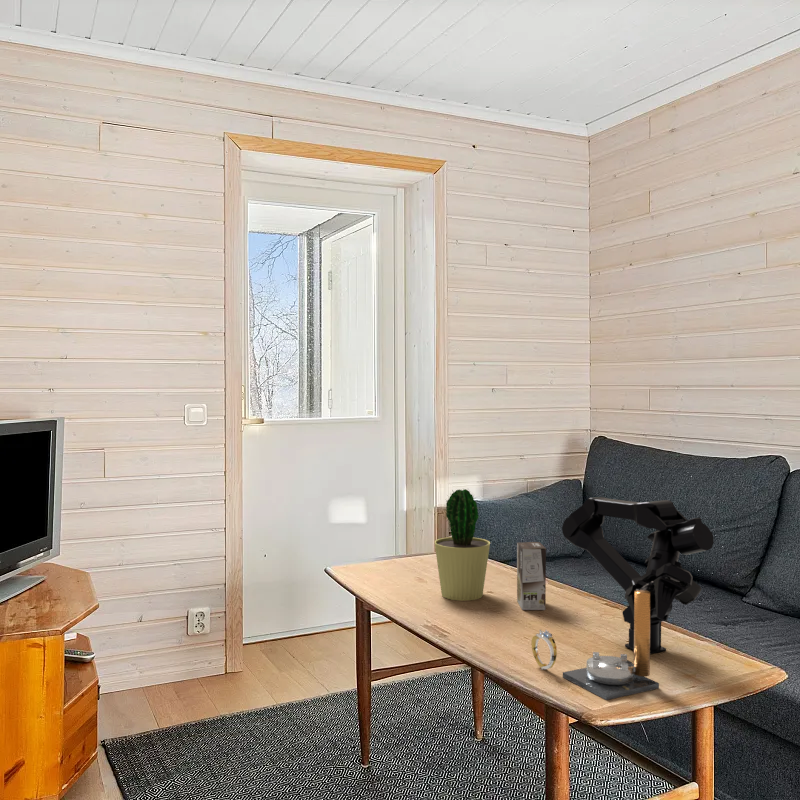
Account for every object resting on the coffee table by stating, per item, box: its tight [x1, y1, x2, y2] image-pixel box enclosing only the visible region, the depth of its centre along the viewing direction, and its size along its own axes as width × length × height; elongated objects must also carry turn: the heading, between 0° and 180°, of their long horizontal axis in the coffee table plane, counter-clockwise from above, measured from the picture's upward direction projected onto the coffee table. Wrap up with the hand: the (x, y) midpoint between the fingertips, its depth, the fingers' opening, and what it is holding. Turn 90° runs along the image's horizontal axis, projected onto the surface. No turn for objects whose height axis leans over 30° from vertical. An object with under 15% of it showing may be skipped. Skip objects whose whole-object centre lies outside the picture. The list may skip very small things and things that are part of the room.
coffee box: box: [516, 541, 547, 611], centre depth 215 cm, size 9×6×16 cm
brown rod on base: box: [586, 590, 651, 685], centre depth 160 cm, size 12×9×17 cm
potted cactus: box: [434, 488, 491, 602], centre depth 225 cm, size 15×15×30 cm
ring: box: [530, 629, 558, 671], centre depth 168 cm, size 7×3×8 cm, turn 22°
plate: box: [562, 667, 660, 701], centre depth 161 cm, size 13×13×1 cm
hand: (649, 624), depth 165 cm, fingers open, 9 cm apart
